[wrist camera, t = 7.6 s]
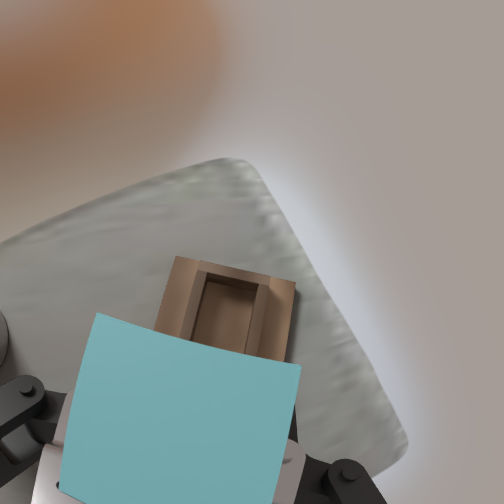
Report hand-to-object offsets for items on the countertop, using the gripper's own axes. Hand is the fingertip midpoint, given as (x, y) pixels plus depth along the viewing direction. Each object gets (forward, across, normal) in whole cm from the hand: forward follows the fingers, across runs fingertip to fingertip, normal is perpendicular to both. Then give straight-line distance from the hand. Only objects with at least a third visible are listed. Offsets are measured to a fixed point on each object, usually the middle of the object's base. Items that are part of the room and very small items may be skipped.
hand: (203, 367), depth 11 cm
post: (+3, 0, +5) cm, 6 cm away
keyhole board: (+14, 0, +11) cm, 18 cm away
